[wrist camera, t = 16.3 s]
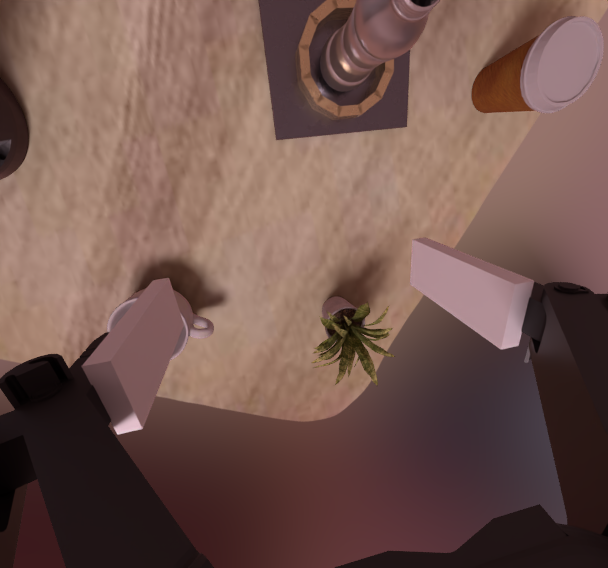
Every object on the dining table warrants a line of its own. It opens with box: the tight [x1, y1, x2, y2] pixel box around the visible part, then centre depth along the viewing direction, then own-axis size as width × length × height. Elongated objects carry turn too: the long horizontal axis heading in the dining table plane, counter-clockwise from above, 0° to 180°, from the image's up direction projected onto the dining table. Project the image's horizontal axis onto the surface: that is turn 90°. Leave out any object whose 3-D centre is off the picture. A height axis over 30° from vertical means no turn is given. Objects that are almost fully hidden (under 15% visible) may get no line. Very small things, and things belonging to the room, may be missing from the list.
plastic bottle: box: [320, 0, 440, 92], centre depth 29 cm, size 6×7×20 cm
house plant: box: [312, 296, 394, 385], centre depth 45 cm, size 14×14×16 cm
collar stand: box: [259, 0, 410, 140], centre depth 37 cm, size 20×16×4 cm
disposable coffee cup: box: [472, 16, 604, 113], centre depth 38 cm, size 10×10×12 cm
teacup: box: [107, 288, 214, 360], centre depth 44 cm, size 14×11×8 cm
